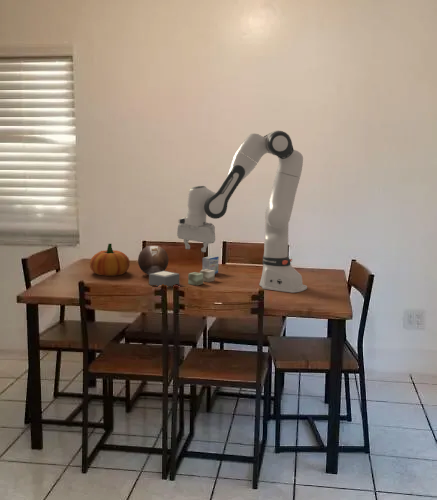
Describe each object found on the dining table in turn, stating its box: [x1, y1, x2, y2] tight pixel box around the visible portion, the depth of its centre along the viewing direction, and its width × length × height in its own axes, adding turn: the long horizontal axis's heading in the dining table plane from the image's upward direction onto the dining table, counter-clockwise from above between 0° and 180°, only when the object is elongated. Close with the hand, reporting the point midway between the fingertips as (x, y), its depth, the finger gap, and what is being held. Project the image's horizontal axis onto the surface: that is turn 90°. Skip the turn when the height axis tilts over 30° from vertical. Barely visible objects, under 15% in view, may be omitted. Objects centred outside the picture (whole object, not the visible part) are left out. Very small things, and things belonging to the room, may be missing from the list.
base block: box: [148, 270, 180, 287], centre depth 285 cm, size 10×10×5 cm
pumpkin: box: [89, 243, 131, 277], centre depth 304 cm, size 19×19×15 cm
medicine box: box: [201, 255, 220, 275], centre depth 310 cm, size 8×4×9 cm, turn 143°
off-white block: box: [199, 269, 216, 283], centre depth 295 cm, size 5×5×5 cm
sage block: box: [187, 271, 204, 286], centre depth 288 cm, size 5×5×5 cm
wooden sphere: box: [137, 244, 169, 276], centre depth 303 cm, size 15×15×15 cm
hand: (195, 250), depth 286 cm, fingers open, 8 cm apart
